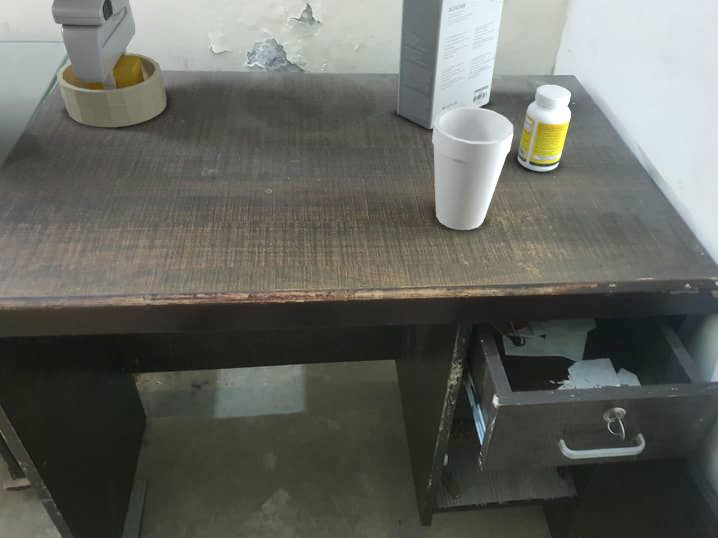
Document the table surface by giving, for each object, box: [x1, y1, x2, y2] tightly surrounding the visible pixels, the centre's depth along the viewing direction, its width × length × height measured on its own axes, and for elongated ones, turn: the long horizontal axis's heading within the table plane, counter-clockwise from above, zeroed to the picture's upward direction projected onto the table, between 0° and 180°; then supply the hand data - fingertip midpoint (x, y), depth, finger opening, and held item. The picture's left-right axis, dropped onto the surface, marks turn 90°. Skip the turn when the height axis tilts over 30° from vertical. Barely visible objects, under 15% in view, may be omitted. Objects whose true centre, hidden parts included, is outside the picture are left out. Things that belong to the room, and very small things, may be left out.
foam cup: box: [431, 107, 514, 231], centre depth 79 cm, size 10×9×13 cm
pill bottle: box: [517, 84, 572, 172], centre depth 91 cm, size 6×6×11 cm
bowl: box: [56, 52, 168, 128], centre depth 98 cm, size 15×15×6 cm
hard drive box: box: [396, 0, 504, 130], centre depth 99 cm, size 16×8×20 cm, turn 136°
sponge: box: [88, 56, 144, 90], centre depth 98 cm, size 7×4×6 cm, turn 94°
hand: (117, 86), depth 99 cm, fingers closed on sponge, 4 cm apart
